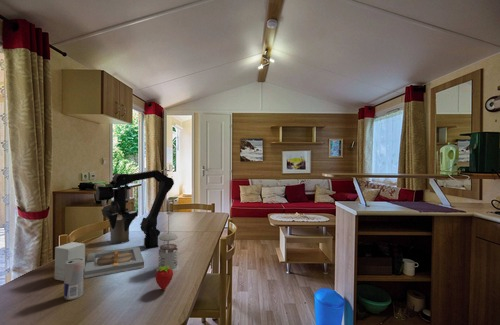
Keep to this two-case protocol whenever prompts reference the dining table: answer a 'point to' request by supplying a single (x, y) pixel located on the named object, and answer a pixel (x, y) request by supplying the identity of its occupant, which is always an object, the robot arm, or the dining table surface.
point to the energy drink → (73, 279)
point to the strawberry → (164, 276)
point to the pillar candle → (119, 232)
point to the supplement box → (67, 257)
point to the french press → (168, 257)
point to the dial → (114, 258)
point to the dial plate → (96, 270)
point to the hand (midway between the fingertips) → (119, 229)
